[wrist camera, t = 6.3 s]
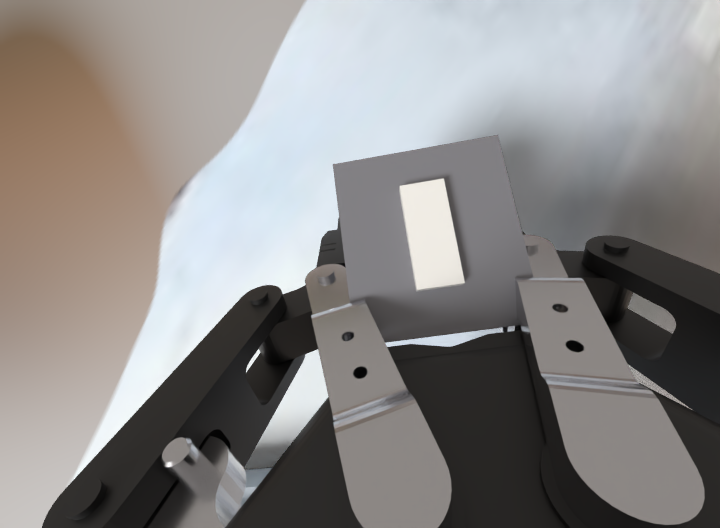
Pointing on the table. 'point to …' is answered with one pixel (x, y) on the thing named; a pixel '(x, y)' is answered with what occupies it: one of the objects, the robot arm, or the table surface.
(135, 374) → the table surface
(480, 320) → the block
